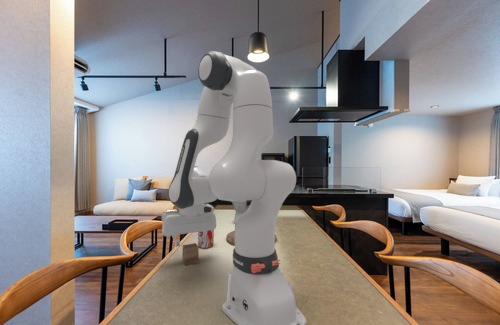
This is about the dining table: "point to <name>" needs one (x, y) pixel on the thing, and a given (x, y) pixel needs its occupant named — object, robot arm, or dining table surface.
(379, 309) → the dining table surface
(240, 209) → the coffee maker
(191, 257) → the walnut block
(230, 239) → the trivet
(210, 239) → the soda can
